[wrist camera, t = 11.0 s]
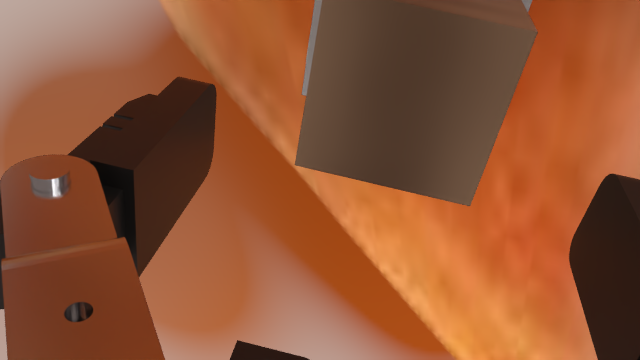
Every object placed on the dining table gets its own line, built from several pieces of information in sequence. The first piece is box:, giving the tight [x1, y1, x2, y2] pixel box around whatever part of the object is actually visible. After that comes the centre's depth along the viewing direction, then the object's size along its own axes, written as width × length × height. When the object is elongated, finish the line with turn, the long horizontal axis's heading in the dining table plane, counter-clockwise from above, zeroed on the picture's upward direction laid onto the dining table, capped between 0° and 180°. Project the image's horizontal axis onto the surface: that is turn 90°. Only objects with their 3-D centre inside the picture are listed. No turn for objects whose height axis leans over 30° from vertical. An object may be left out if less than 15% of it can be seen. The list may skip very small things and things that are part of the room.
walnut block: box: [295, 0, 538, 206], centre depth 17 cm, size 5×5×6 cm
